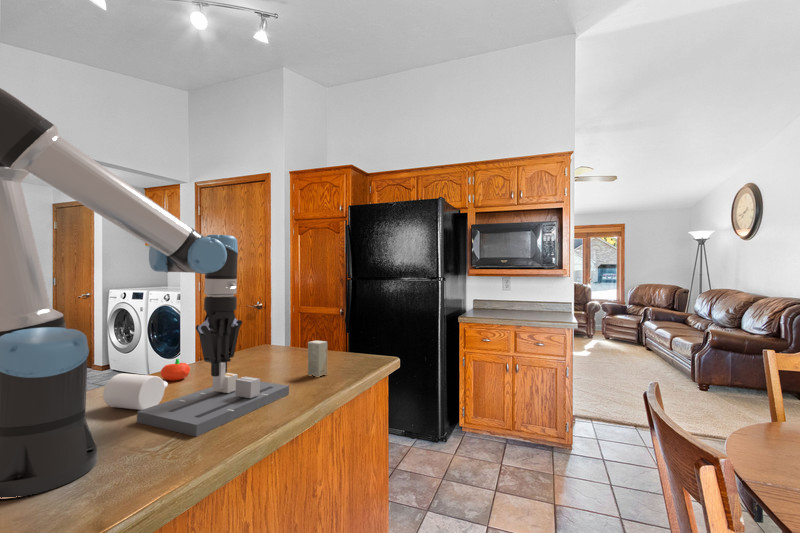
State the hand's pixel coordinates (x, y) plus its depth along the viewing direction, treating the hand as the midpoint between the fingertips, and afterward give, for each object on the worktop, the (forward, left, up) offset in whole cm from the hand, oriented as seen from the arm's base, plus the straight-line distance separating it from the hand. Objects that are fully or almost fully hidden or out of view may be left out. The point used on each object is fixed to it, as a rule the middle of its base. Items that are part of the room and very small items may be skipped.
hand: (218, 387), depth 99 cm
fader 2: (+2, -8, -1) cm, 8 cm away
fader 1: (+2, 0, -1) cm, 3 cm away
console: (-1, -2, -4) cm, 5 cm away
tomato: (+11, +29, -4) cm, 31 cm away
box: (+34, -7, -4) cm, 35 cm away
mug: (-8, +17, -4) cm, 19 cm away
